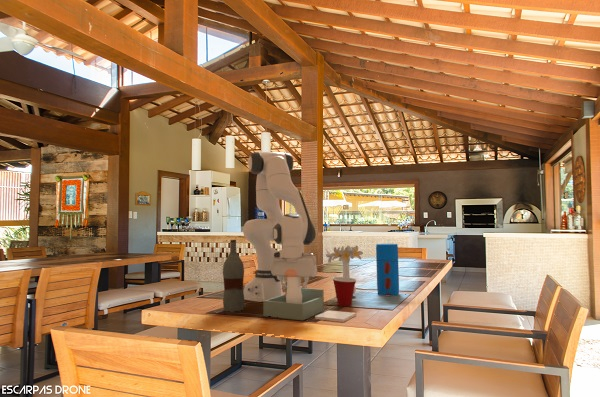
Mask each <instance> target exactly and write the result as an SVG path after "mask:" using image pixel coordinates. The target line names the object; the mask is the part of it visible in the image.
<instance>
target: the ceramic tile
mask: <svg viewBox="0 0 600 397" xmlns="http://www.w3.org/2000/svg"><path fill="white" fill-rule="evenodd" d="M356 316H357V312H349V311H340V310H329V309H328V310H327V311H324V312H321V313H319V314H317V315H314V320H321V321H322V320H323V321H331V322H340V323H345V322H346V321H348V320H351V319H352V318H354V317H356Z"/></svg>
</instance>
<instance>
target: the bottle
mask: <svg viewBox="0 0 600 397" xmlns="http://www.w3.org/2000/svg"><path fill="white" fill-rule="evenodd" d="M229 242H230V244H229V245H230V248H229V250H230V251H229V253H228V255H227V258H226V259H225V260H224V263H223V266H222V276H223V288H224V289H223V290H224V291H223V298H222V304H223V306H222V307H223V310H224V312H225V311H230V312H229V313H235V312H234V311H239V312H242V311H241V310H243V311H244V309H245V301H246V300H244V279H245V278H244V277H245V265H244V262H243V260H242V259H241V258H240V255H238V253H237V239H230V241H229Z"/></svg>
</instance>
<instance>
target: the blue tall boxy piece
mask: <svg viewBox="0 0 600 397" xmlns="http://www.w3.org/2000/svg"><path fill="white" fill-rule="evenodd" d="M375 251H376V252H375V255H376V258H375V259H376V290H377V294H378V295H379V296H384V295H385V296H386V295H394V296H399V295H398V294H400V278H399V277H400V275H399V274H400V273H399V272H400V270H399V269H400V268H399V247H398V243H376V246H375ZM386 297H387V296H386Z"/></svg>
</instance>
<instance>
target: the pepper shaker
mask: <svg viewBox="0 0 600 397" xmlns="http://www.w3.org/2000/svg"><path fill="white" fill-rule="evenodd" d="M285 275H286V276H285V277H286V280H287V281H286V282H287V292H286V302H288V303H299V304H302V292H301V288H302V283H301V277H297V272H296V270H293V269H288V270H286V272H285Z"/></svg>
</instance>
